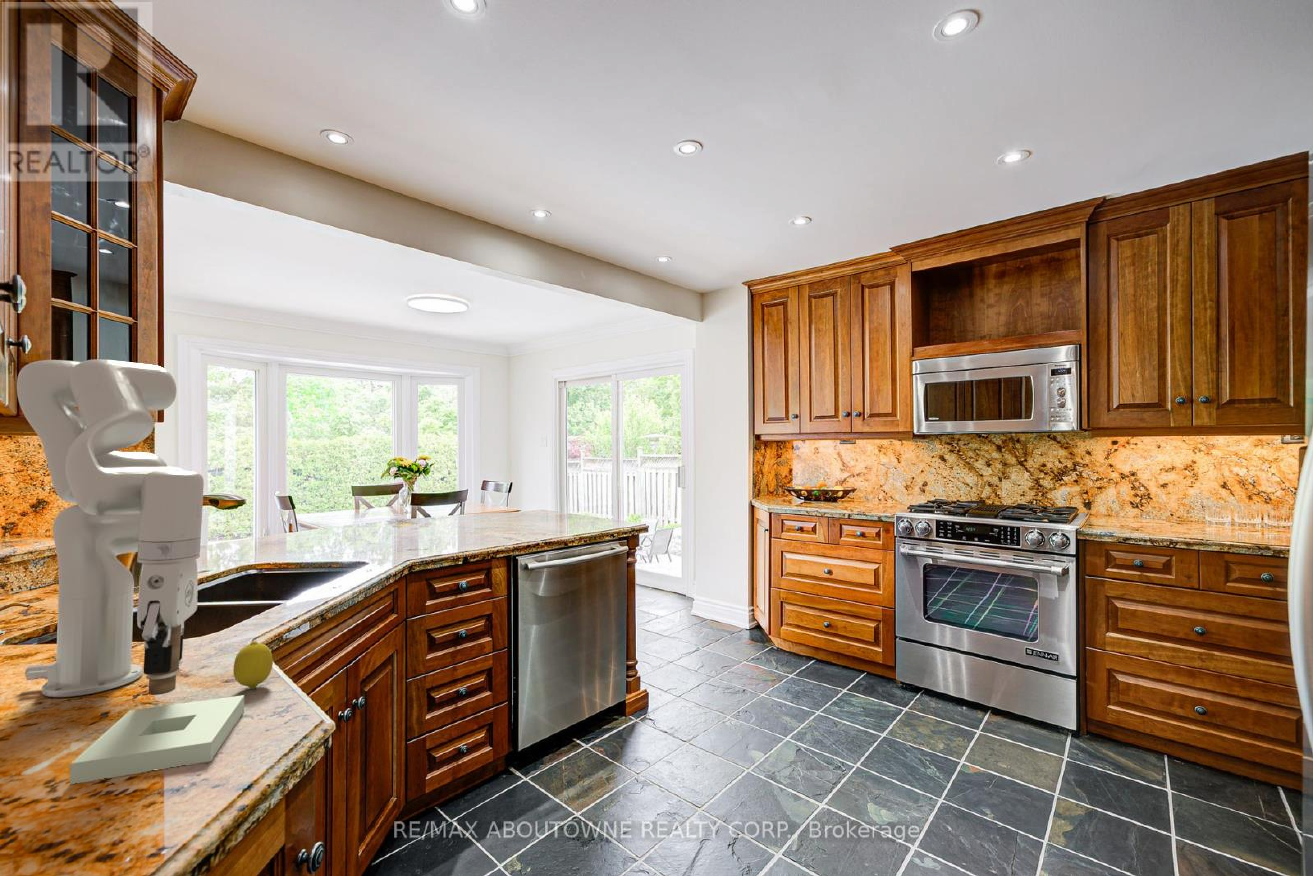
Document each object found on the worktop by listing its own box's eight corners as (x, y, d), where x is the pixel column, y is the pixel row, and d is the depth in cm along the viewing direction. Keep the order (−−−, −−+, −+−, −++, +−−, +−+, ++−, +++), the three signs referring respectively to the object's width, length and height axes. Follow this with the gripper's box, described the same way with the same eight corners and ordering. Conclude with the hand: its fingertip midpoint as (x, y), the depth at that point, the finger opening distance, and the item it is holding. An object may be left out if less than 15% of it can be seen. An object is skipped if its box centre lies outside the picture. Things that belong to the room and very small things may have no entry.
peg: (140, 697, 88) (144, 624, 88) (151, 686, 91) (155, 617, 92) (172, 694, 89) (176, 622, 89) (182, 684, 93) (185, 615, 93)
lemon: (237, 685, 100) (238, 638, 101) (275, 680, 103) (276, 635, 103) (228, 697, 95) (229, 648, 96) (268, 692, 98) (269, 644, 98)
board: (69, 784, 70) (70, 763, 70) (129, 727, 85) (130, 710, 85) (210, 761, 75) (211, 742, 76) (243, 711, 90) (244, 695, 90)
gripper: (179, 559, 84) (172, 686, 84) (215, 540, 100) (209, 646, 100) (113, 561, 81) (106, 692, 81) (161, 541, 97) (155, 650, 97)
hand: (163, 665), depth 90 cm, fingers closed on peg, 3 cm apart
